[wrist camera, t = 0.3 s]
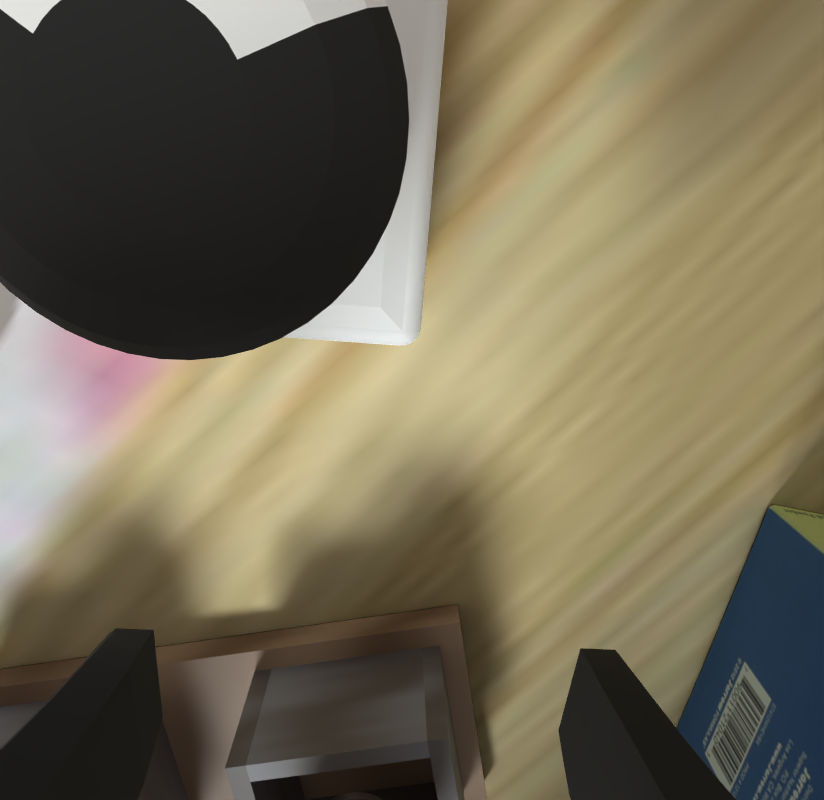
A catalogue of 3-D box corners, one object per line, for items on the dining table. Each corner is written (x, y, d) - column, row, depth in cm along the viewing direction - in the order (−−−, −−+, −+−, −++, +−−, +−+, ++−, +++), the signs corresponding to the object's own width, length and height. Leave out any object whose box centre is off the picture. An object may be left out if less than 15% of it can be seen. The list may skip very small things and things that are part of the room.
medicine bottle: (412, 298, 20) (431, 435, 8) (173, 280, 20) (-145, 396, 8) (433, 35, 18) (494, -259, 6) (166, 10, 18) (-275, -345, 6)
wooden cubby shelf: (457, 604, 23) (473, 711, 18) (484, 782, 25) (504, 917, 21) (-42, 675, 23) (-155, 797, 19) (29, 842, 26) (-55, 989, 21)
